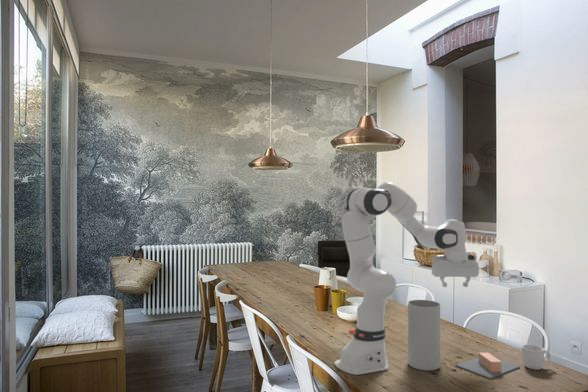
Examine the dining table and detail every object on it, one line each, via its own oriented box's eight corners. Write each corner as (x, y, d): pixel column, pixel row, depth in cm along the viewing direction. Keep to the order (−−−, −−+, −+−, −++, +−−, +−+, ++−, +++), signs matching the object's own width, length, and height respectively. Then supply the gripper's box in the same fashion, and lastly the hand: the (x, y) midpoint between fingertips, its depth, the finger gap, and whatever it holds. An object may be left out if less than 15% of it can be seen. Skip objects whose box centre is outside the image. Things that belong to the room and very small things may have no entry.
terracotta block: (478, 362, 173) (491, 372, 163) (478, 352, 173) (491, 361, 163) (488, 362, 173) (501, 372, 163) (488, 352, 173) (501, 361, 164)
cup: (543, 363, 174) (543, 344, 174) (556, 371, 166) (556, 350, 166) (517, 363, 173) (517, 344, 174) (529, 371, 165) (529, 351, 166)
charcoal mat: (490, 379, 158) (490, 377, 158) (455, 366, 171) (455, 364, 171) (519, 367, 169) (519, 366, 169) (484, 356, 182) (484, 354, 182)
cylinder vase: (415, 357, 180) (415, 298, 181) (444, 364, 173) (444, 302, 173) (402, 366, 171) (402, 303, 171) (433, 374, 163) (433, 308, 163)
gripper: (434, 256, 186) (434, 288, 186) (480, 256, 187) (480, 288, 186) (429, 254, 192) (429, 285, 192) (473, 254, 193) (473, 285, 193)
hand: (455, 286), depth 189 cm, fingers open, 8 cm apart
